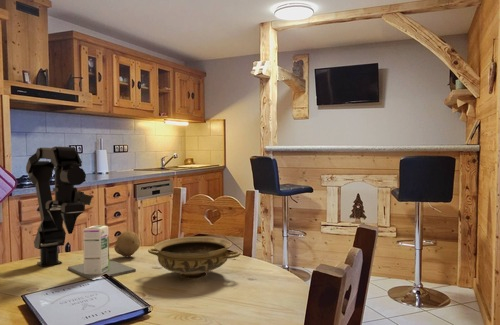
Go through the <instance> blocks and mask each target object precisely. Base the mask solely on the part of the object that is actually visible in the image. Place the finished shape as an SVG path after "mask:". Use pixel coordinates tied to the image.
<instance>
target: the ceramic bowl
mask: <svg viewBox="0 0 500 325" xmlns="http://www.w3.org/2000/svg"><path fill="white" fill-rule="evenodd" d="M232 245H233V243H232V241H230V240H229V239H225V238H222V237H221V238H220V237H214V236H183V237H177V238H176V237H175V238H171V239H170V238H169V239H166V240H163V241H160V242H158V243H156V244H154V246H153V248H148V250H147V251H148V253H149V254H151V255H154V256H156V257H157V261H158V263H159V265H160V266H161V267H162V268H164V269H166V270H168V271H170V272H172V273H177V274H180V277H181V278H182V279H186V280H195V279H196V280H197V279H202V278H205V277H206V276H207V275H208V274H207V272H210V271H213V270H215V269H216V270H217V269H218V268H220V267H221V266H223V265H224V264H225V263H226V262H227V261H228V259H235V258H238V257H239V256H241V252H240V251H228V249H230V248H231V247H232Z"/></svg>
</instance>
